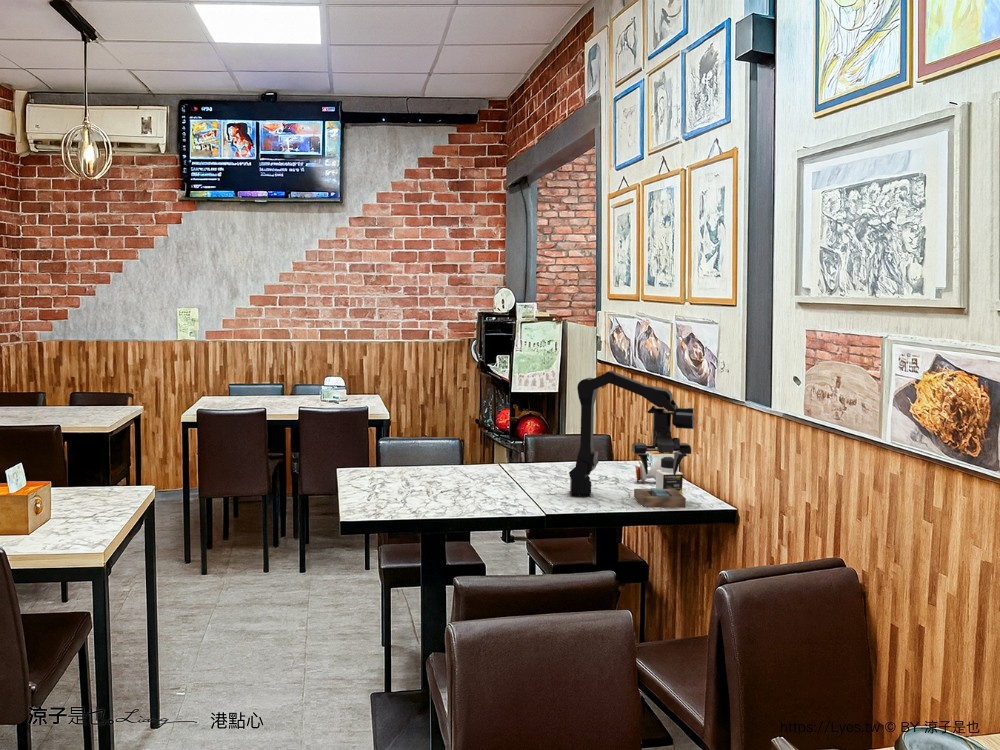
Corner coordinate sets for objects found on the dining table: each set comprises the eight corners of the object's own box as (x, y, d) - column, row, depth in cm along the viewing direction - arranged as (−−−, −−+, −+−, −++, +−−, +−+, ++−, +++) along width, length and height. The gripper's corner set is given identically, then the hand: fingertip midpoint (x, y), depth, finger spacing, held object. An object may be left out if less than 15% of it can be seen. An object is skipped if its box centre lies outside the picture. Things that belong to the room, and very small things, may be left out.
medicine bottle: (662, 494, 314) (664, 459, 313) (655, 489, 321) (656, 456, 320) (682, 493, 315) (683, 459, 314) (674, 489, 322) (675, 455, 321)
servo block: (657, 506, 296) (657, 495, 296) (650, 498, 307) (650, 488, 307) (669, 506, 296) (669, 495, 296) (661, 498, 307) (662, 488, 307)
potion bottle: (679, 488, 330) (638, 491, 332) (676, 468, 337) (635, 472, 339) (679, 470, 324) (637, 474, 326) (676, 451, 331) (634, 454, 333)
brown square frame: (642, 506, 294) (642, 498, 294) (633, 497, 308) (634, 488, 308) (685, 507, 295) (685, 498, 295) (675, 497, 309) (675, 489, 309)
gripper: (638, 430, 291) (637, 479, 292) (696, 431, 292) (694, 479, 293) (631, 425, 302) (630, 472, 303) (687, 426, 303) (686, 472, 304)
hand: (660, 474), depth 301 cm, fingers open, 9 cm apart
